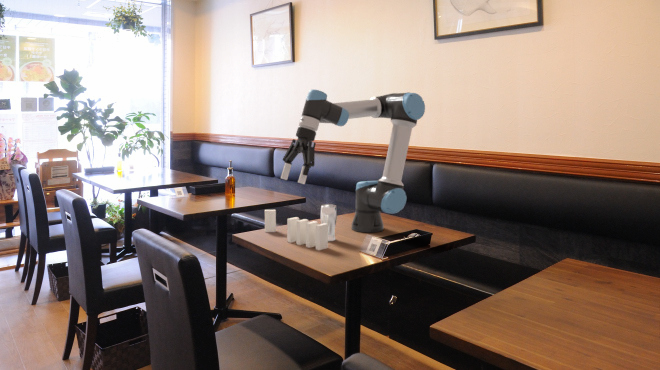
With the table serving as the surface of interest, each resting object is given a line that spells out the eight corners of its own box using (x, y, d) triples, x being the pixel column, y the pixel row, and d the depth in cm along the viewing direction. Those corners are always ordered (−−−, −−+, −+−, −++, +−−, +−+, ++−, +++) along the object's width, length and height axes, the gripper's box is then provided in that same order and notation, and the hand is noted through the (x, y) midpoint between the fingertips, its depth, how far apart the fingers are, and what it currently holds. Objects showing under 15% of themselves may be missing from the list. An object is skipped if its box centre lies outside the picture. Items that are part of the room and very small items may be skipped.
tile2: (287, 241, 206) (287, 218, 205) (295, 239, 210) (295, 217, 209) (290, 242, 205) (290, 219, 204) (299, 240, 209) (299, 217, 207)
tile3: (296, 244, 203) (296, 220, 201) (304, 242, 206) (304, 219, 205) (299, 245, 201) (299, 221, 200) (308, 242, 205) (308, 219, 204)
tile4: (305, 246, 199) (305, 222, 198) (314, 244, 203) (314, 221, 201) (309, 247, 198) (309, 223, 196) (317, 245, 201) (317, 221, 200)
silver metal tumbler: (339, 239, 212) (339, 205, 210) (331, 242, 206) (331, 207, 204) (325, 236, 215) (326, 203, 213) (317, 240, 209) (317, 206, 207)
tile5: (315, 249, 195) (315, 225, 194) (324, 246, 199) (324, 223, 198) (319, 250, 194) (319, 225, 193) (327, 247, 198) (327, 223, 196)
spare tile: (264, 231, 225) (264, 209, 223) (275, 230, 225) (275, 209, 224) (264, 232, 223) (264, 210, 221) (275, 231, 223) (275, 210, 222)
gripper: (284, 125, 198) (269, 175, 197) (317, 127, 177) (300, 182, 177) (299, 131, 202) (284, 179, 201) (333, 133, 182) (317, 187, 181)
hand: (292, 181), depth 189 cm, fingers open, 13 cm apart
